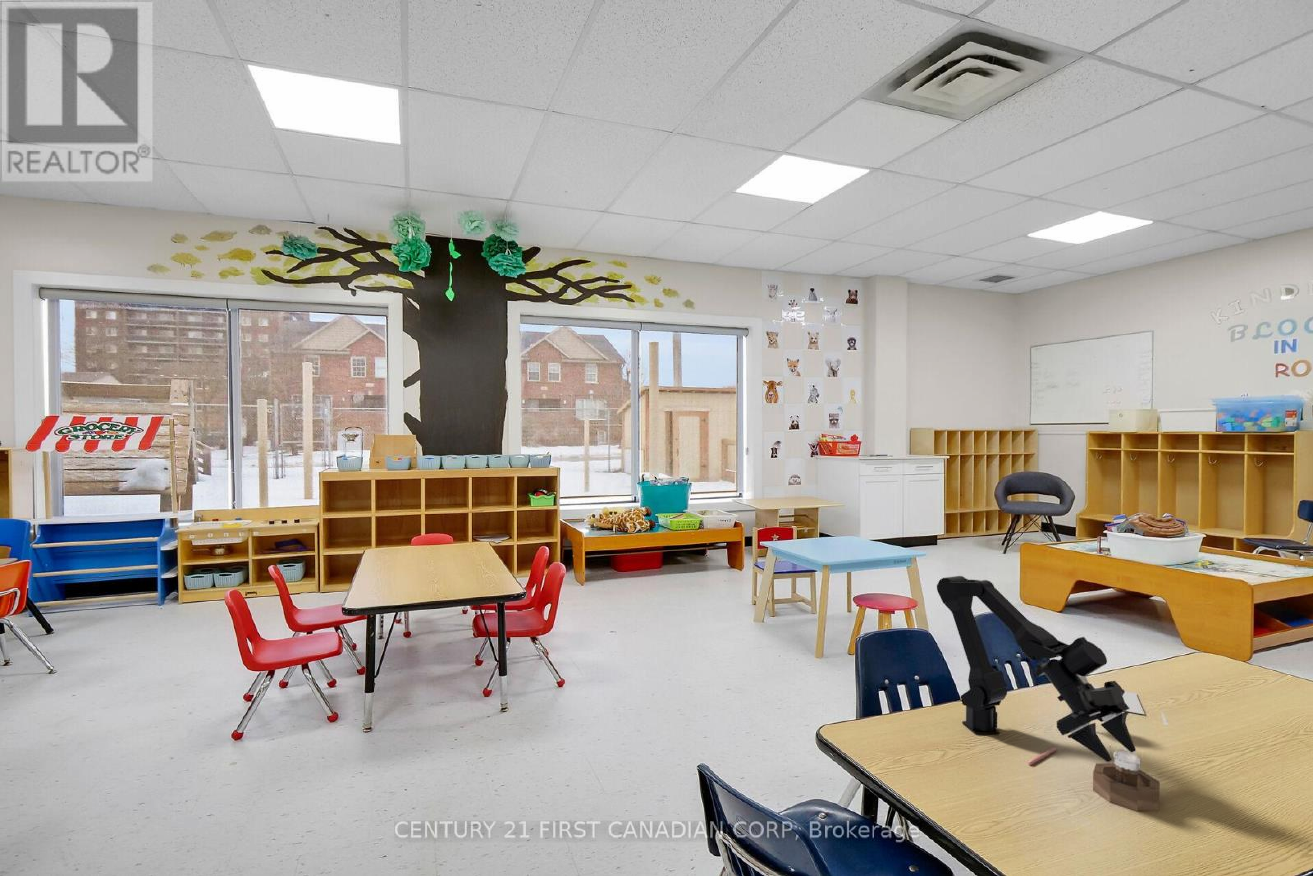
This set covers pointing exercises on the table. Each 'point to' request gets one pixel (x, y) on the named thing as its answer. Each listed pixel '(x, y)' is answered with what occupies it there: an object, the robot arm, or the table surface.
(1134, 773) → the milkshake
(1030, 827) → the table surface
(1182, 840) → the table surface
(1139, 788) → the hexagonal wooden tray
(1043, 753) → the pink rod
